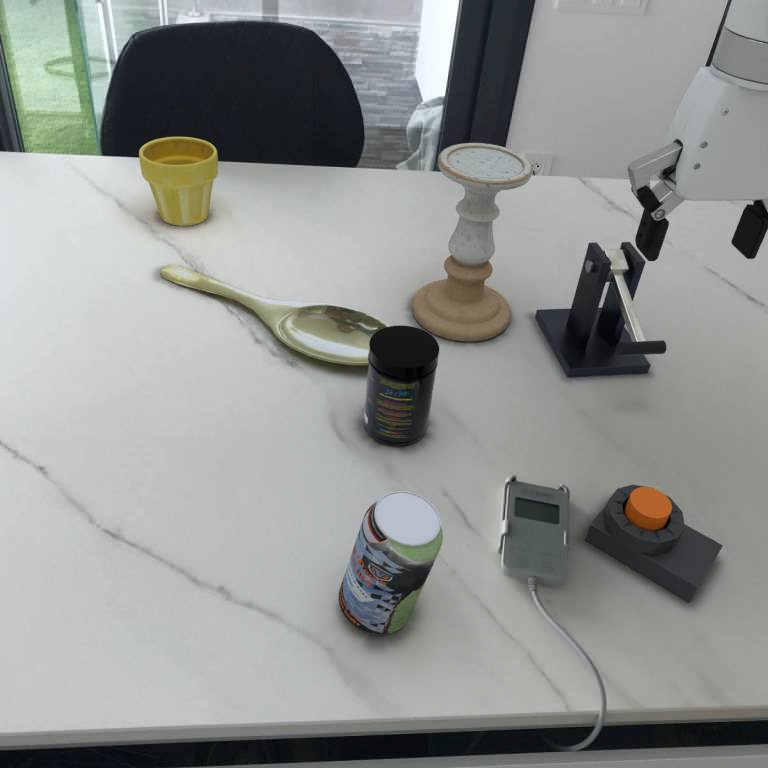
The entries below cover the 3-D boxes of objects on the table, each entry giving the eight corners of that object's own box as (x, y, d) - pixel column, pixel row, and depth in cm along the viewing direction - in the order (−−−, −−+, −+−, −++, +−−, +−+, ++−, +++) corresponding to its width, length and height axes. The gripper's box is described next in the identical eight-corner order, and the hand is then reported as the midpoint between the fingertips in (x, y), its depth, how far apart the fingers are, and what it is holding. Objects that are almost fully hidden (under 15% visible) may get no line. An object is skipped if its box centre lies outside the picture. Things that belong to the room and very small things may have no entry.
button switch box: (715, 559, 70) (731, 530, 67) (688, 605, 66) (703, 576, 63) (614, 502, 74) (626, 473, 72) (583, 541, 70) (593, 512, 68)
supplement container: (434, 446, 78) (447, 365, 72) (369, 452, 77) (376, 370, 70) (419, 402, 83) (430, 323, 77) (357, 407, 82) (363, 327, 75)
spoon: (135, 298, 97) (132, 284, 96) (193, 264, 105) (191, 250, 103) (373, 390, 83) (373, 374, 82) (420, 343, 91) (421, 328, 89)
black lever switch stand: (647, 373, 91) (682, 279, 82) (567, 377, 89) (595, 281, 81) (608, 314, 100) (636, 225, 92) (534, 317, 98) (556, 226, 90)
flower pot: (178, 192, 117) (172, 129, 111) (235, 211, 114) (232, 146, 107) (131, 219, 109) (122, 153, 103) (191, 240, 106) (184, 172, 100)
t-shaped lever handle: (660, 358, 83) (670, 346, 81) (616, 360, 82) (625, 348, 80) (625, 262, 89) (634, 248, 87) (585, 263, 89) (592, 249, 86)
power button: (672, 514, 69) (678, 501, 68) (655, 538, 66) (662, 524, 65) (635, 493, 70) (640, 480, 69) (617, 516, 68) (623, 502, 67)
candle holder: (505, 351, 92) (539, 193, 79) (403, 332, 93) (421, 175, 80) (512, 296, 101) (544, 148, 88) (420, 280, 103) (438, 132, 90)
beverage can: (336, 579, 65) (342, 480, 57) (422, 576, 66) (439, 479, 58) (339, 646, 60) (346, 548, 53) (432, 642, 61) (453, 545, 53)
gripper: (833, 47, 65) (757, 232, 75) (642, 41, 62) (590, 234, 72) (893, 76, 59) (801, 271, 70) (685, 71, 56) (623, 276, 67)
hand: (694, 252), depth 71 cm, fingers open, 9 cm apart
